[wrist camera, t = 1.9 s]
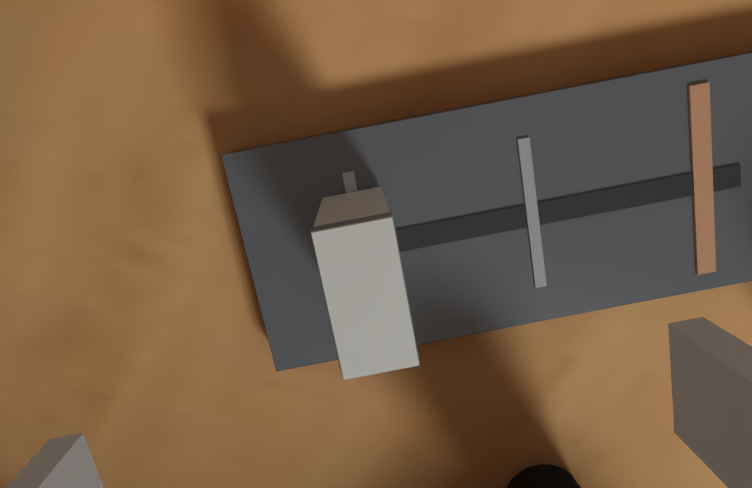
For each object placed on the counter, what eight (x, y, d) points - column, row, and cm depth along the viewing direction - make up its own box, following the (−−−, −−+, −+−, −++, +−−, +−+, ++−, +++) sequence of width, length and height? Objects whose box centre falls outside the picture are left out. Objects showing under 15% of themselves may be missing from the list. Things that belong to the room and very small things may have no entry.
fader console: (281, 355, 32) (275, 372, 30) (230, 151, 29) (220, 155, 27) (786, 259, 32) (815, 269, 30) (785, 44, 29) (819, 40, 27)
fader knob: (345, 308, 29) (343, 381, 22) (321, 196, 28) (309, 231, 20) (402, 297, 29) (420, 366, 22) (381, 185, 28) (393, 215, 20)
